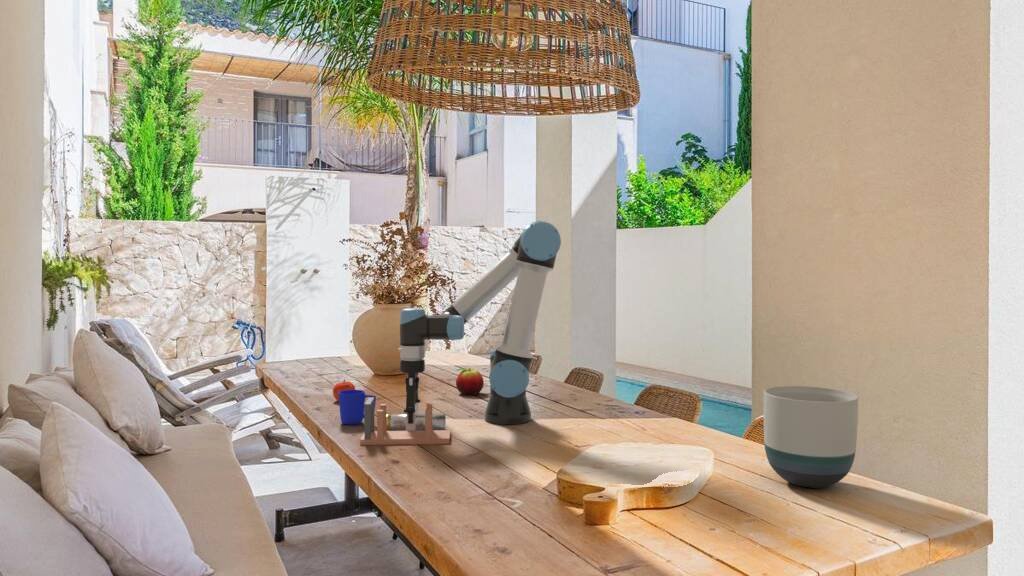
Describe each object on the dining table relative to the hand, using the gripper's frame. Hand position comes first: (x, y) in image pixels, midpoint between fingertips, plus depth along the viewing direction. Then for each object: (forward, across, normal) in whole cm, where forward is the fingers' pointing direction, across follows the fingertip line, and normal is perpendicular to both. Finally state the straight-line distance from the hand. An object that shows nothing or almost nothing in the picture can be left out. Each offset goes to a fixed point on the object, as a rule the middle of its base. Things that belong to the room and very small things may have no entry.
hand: (412, 428), depth 226 cm
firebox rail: (0, +13, -1) cm, 13 cm away
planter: (0, +60, +96) cm, 113 cm away
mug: (0, -9, -18) cm, 20 cm away
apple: (+1, -46, -28) cm, 54 cm away
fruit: (0, -58, +18) cm, 61 cm away
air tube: (-1, 0, 0) cm, 1 cm away
